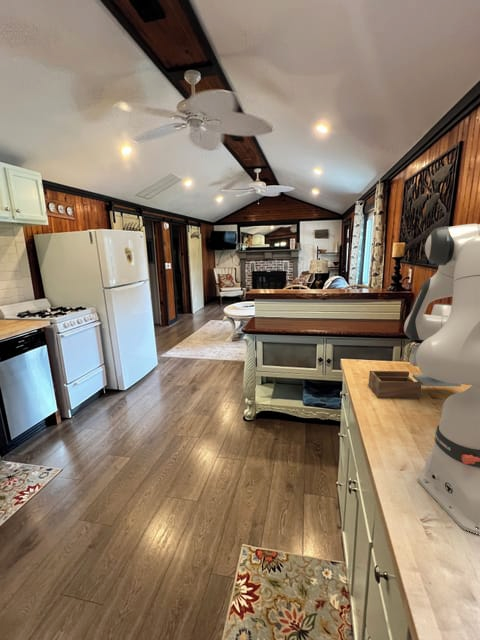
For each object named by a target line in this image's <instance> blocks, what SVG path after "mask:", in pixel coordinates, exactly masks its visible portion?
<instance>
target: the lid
mask: <svg viewBox="0 0 480 640" xmlns="http://www.w3.org/2000/svg"><path fill="white" fill-rule="evenodd" d="M412 378H413V380H414V381H415V382H421V383H422V385H421V387H462V386H461V385H462V384H456V383H448V382H443V381H440V380H436V379H433V378H430V377H427V376H425V375H424V374H423V373H421V374H419V373H418V374H416V373H413V374H412Z"/></svg>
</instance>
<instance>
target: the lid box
mask: <svg viewBox="0 0 480 640" xmlns="http://www.w3.org/2000/svg"><path fill="white" fill-rule="evenodd" d="M367 385H368V388H370V390H371V391H372V393H374V396H376V398H377V399H390V400H391V399H394V400H395V399H396V400H399V399H400V400H404V399H405V400H420V397H421V389H422V383H421V382H418V381H415V380H414V379H412V378H411V377H410V371H408V370H402V371H401V370H400V371H399V370H369V376H368V384H367Z"/></svg>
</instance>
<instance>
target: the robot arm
mask: <svg viewBox="0 0 480 640" xmlns="http://www.w3.org/2000/svg"><path fill="white" fill-rule="evenodd" d="M424 252H425V255H426V257H427V261H428V262H430V263H431V264H433V265H437V266H438V268H437V271H436V273H435V274H433V275H432V276H431V277H429V278H427V279H425V280H424V282H423V283H422V285H421V286H420V289H419V292H418V293H417V296H416V298H415V300H414V302H413V305H412V308H411V310H410V312H409V314H408V316H407V317H406V319H405V321H404V326H403V331H404V335H406V337H407V338H408V339H410V340H412V341H414V340H415V341H422V342H421V343H419V342H417V343H415V344H413V345H412V346H411V350H410V355H409V357H408V358H409V359H408V361H409V363H410V364H411V365H412V366H413V367H418V370H419V371H420V372H421V374H424V375H425V376H427V377H430V378H433V379H436V380H440V381H443V382H448V383H456V384H461V385H464V386H466V385H467V386H469V387H468V388H467V389H465V390H463V391H461V392H456V393H452V395H449V396H448V397H447V398H446V399H445V400H444V402H443V404H442V408H441V414H440V419H439V424H438V425H437V426H436V430H435V432H434V445H433V447H431V449H430V451H429V452H428V454H427V457H426V461H425V464H424V467H423V470H422V472H421V473H420V474H419V475H418V477H417V482H418V483H419V484H420V485H421V486H422V488H424V490H425V491H426V492H427V493H428V494H429V495H430V496H431V497H432V498H433V499H434V500H435V501H436V502H437V504H439V506H440V507H442V509H443V510H444V511H445V512H446V513H447V514H448V515H449V516H450V518H452V519H453V521H454V522H455V523H456V524H457V525H458V526H459V527H460V528H461V529H463V530H465V531H466V530H467V532H469V531H470V533H471V532H473V533H472V534H474V533H477V534H480V223H479V224H478V223H467V224H459V225H453V226H447V225H446V226H441V227H437V228H434V229H433V230H432V231H431V232H429V236H428V237H427V239H426V242H425V244H424ZM450 297H452V300H451V303H441V302H440V303H435V304H434V305H433V307H432V310H431V313H430V314H425V313H426V310H427V308H428V306H429V304H430V303H432V302H433V301H437V300H440V299H445V298H450ZM476 528H477V529H476ZM477 534H476V535H477Z"/></svg>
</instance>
